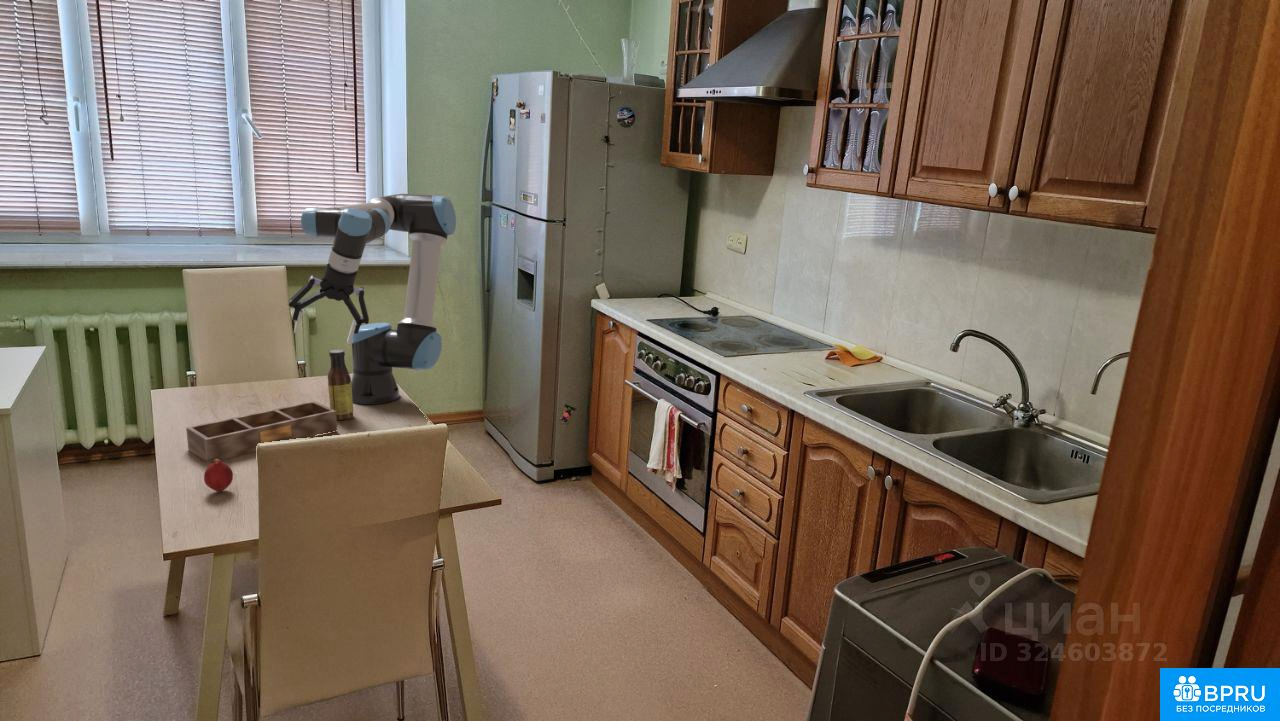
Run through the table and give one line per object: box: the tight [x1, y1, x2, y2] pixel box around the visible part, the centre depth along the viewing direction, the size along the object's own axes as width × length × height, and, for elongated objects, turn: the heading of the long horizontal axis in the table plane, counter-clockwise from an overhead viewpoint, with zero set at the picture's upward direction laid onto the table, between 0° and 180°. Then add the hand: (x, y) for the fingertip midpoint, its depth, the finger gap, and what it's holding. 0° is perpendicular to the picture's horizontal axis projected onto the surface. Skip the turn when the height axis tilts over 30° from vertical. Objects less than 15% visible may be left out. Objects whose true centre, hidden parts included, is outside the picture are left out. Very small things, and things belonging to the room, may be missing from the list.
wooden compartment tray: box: [185, 400, 338, 464], centre depth 217 cm, size 34×12×6 cm, turn 139°
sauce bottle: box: [327, 349, 354, 421], centre depth 236 cm, size 6×6×20 cm
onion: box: [203, 459, 234, 493], centre depth 185 cm, size 6×6×8 cm
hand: (322, 336), depth 221 cm, fingers open, 13 cm apart
